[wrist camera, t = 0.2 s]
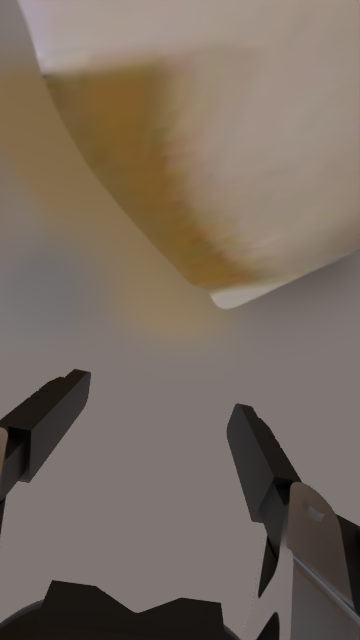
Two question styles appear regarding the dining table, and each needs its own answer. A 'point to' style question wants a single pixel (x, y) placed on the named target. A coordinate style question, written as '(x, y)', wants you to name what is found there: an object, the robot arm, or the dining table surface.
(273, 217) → the dining table surface
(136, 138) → the dining table surface
